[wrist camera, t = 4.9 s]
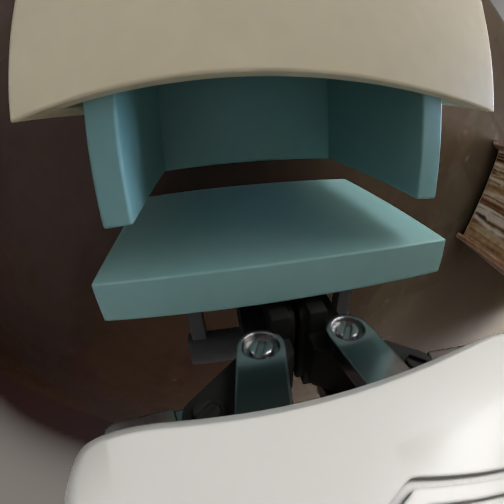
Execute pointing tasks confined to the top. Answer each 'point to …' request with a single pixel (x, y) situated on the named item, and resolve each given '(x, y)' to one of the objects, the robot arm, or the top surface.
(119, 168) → the teal drawer
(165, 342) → the top surface
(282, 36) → the drawer cabinet
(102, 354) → the top surface
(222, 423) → the robot arm
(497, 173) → the book
